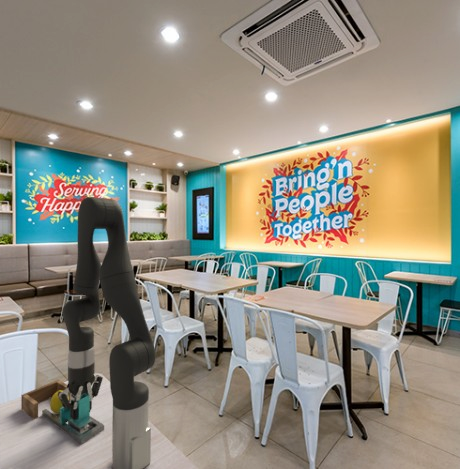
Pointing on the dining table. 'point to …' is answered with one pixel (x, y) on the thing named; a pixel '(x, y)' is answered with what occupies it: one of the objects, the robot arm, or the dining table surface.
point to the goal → (40, 397)
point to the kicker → (83, 415)
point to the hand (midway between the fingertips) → (81, 415)
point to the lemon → (56, 403)
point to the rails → (71, 431)
